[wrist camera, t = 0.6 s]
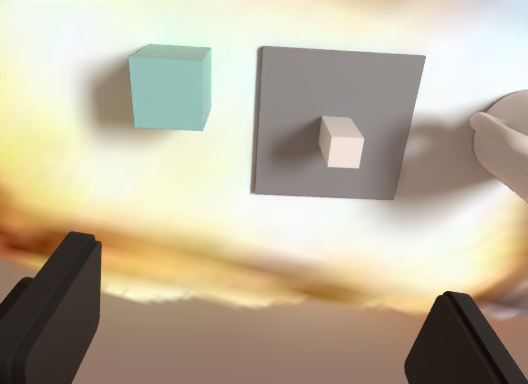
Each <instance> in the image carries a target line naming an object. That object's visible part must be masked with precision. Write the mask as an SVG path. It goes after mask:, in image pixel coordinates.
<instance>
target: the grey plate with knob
mask: <svg viewBox="0 0 528 384" xmlns="http://www.w3.org/2000/svg"><path fill="white" fill-rule="evenodd" d="M425 59H426V56H424V55H407V54H390V53H373V52H357V51H340V50H323V49H306V48H289V47H273V46H263V53H262V72H261V90H260V108H259V126H258V145H257V163H256V181H255V194H267V195H289V196H312V197H334V198H357V199H379V200H393V199H394V194H395V190H396V185H397V181H398V177H399V172H400V168H401V164H402V159H403V155H404V150H405V146H406V142H407V137H408V133H409V129H410V124H411V120H412V115H413V111H414V107H415V102H416V98H417V94H418V89H419V85H420V80H421V76H422V72H423V67H424V63H425Z"/></svg>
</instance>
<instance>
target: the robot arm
mask: <svg viewBox="0 0 528 384" xmlns="http://www.w3.org/2000/svg"><path fill="white" fill-rule="evenodd" d="M101 249H102V245H101V242H100V241H95V236H94V235H92V234H86V233H80V232H73V231H71V232H70V233H68V235H67V236H66V237H65V239H64V240H63V241H62V242H61V244H60V245H59V246H58V248H57V249H56V250H55V251H54V253H53V254H52V255H51V257H50V258H49V259H48V261H47V262H46V263H45V264H44V266H43V267H42V268H41V270H40V271H39V272H38V273H37V275H36V276H35V277H34V278H30V277H25V278H22V279H21V280H20V281H19V282H18V283H17V284H16V286H15V287H14V288H13V289H12V290H11V292H10V293H9V294H8V295H7V297H6V298H5V299H4V300H3V302H2V303H1V304H0V384H71V383H72V381H73V379H74V377H75V375H76V373H77V371H78V369H79V366H80V364H81V362H82V360H83V358H84V356H85V354H86V352H87V350H88V348H89V345H90V343H91V341H92V339H93V337H94V335H95V333H96V330H97V327H98V324H99V318H100V285H101ZM404 368H405V375H406V377H407V380H408V383H409V384H528V381H527V379H526V378H525V376H524V375H523V373H522V372H521V370H520V369H519V367H518V366H517V364H516V363H515V361H514V360H513V358H512V357H511V355H510V354H509V352H508V351H507V350H506V348H505V346H504V345H503V344H502V342H501V341H500V339H499V338H498V336H497V335H496V333H495V332H494V330H493V329H492V327H491V326H490V324H489V323H488V321H487V320H486V318H485V317H484V315H483V314H482V312H481V311H480V310H479V308H478V307H477V305H476V304H475V302H474V301H473V299H472V298H471V297H470V296H469V295H468V294H464V293H458V292H452V291H446V292H445V293H443V295H439V296H438V297H437V298H436V300H435V302H434V304H433V306H432V308H431V310H430V312H429V314H428V316H427V318H426V320H425V322H424V324H423V326H422V328H421V330H420V332H419V334H418V336H417V338H416V340H415V343H414V344H413V346H412V348H411V351H410V353H409V355H408V356H407V358H406V361H405V365H404Z"/></svg>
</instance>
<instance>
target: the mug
mask: <svg viewBox="0 0 528 384" xmlns="http://www.w3.org/2000/svg"><path fill="white" fill-rule="evenodd" d="M469 124H470V126H471V128H472V129H473V130H475V134H474V140H473V147H474V152H475V155H476V158H477V160H478V161H479V163H480V164H481V165H482V166H483V167H484V168H485V169H486V170H487V171H488V172H490V173H491V174H492V175H494V176H495V177H496V178H498V179H499V180H500V181H501V182H503V183H504V184H505V185H506V186H508V187H509V188H510V189H511V190H512V191H514V192H515V193H516V194H517V195H519V196H520V197H521V198H522V199H523V200H525V201H526V202H527V203H528V90H523V91H518V92H515V93H512V94H510V95H508V96H506V97H504V98H502V99H500V100H499V101H498V102H496V103H495V104H494V105H493V106H492V107H490V108H489V109H488V111H487V112H486V113H483V112H476V113H475V114H473V115H472V117H471V118H470V122H469Z"/></svg>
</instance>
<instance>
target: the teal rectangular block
mask: <svg viewBox="0 0 528 384" xmlns="http://www.w3.org/2000/svg"><path fill="white" fill-rule="evenodd" d="M128 60H129V71H130V83H131V94H132V106H133V117H134V128H153V129H172V130H192V131H203V129H204V126H205V124H206V121H207V118H208V115H209V112H210V109H211V48H207V47H190V46H173V45H156V44H149V45H147V46H146V47H144V48H142V49H141V50H139V51H137V52H136V53H134V54H132V55H131V56H129V57H128Z"/></svg>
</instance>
